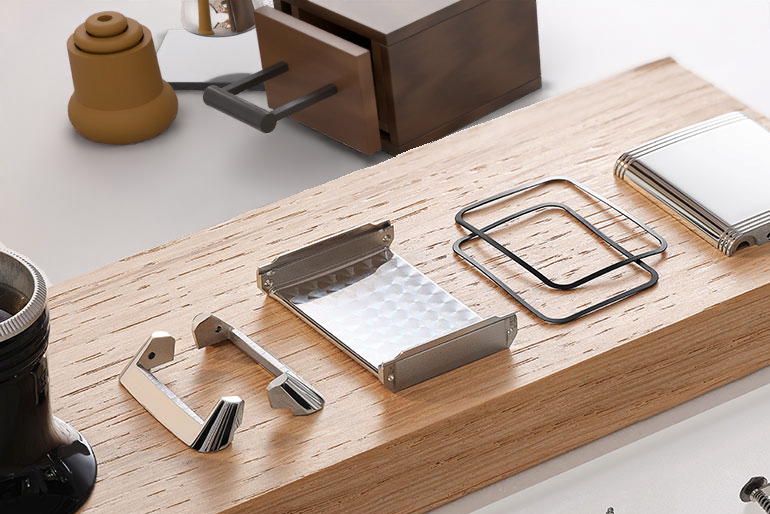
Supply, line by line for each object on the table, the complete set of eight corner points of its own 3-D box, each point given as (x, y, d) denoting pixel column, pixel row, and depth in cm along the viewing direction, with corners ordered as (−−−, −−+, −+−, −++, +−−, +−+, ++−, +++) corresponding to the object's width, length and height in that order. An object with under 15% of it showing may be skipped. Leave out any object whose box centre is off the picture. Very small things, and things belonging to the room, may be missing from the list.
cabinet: (400, 159, 144) (386, 34, 138) (288, 105, 150) (269, -17, 144) (542, 86, 152) (534, -34, 146) (430, 38, 158) (418, -79, 152)
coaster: (315, 37, 158) (314, 30, 158) (295, 90, 152) (294, 83, 151) (169, 36, 158) (168, 29, 158) (143, 89, 152) (141, 82, 151)
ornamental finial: (71, 104, 150) (178, 92, 151) (71, 155, 144) (182, 142, 146) (48, 0, 145) (159, -11, 146) (47, 48, 139) (162, 36, 141)
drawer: (292, 194, 138) (276, 93, 134) (190, 143, 144) (172, 44, 139) (502, 89, 150) (494, -8, 145) (401, 45, 155) (390, -50, 150)
